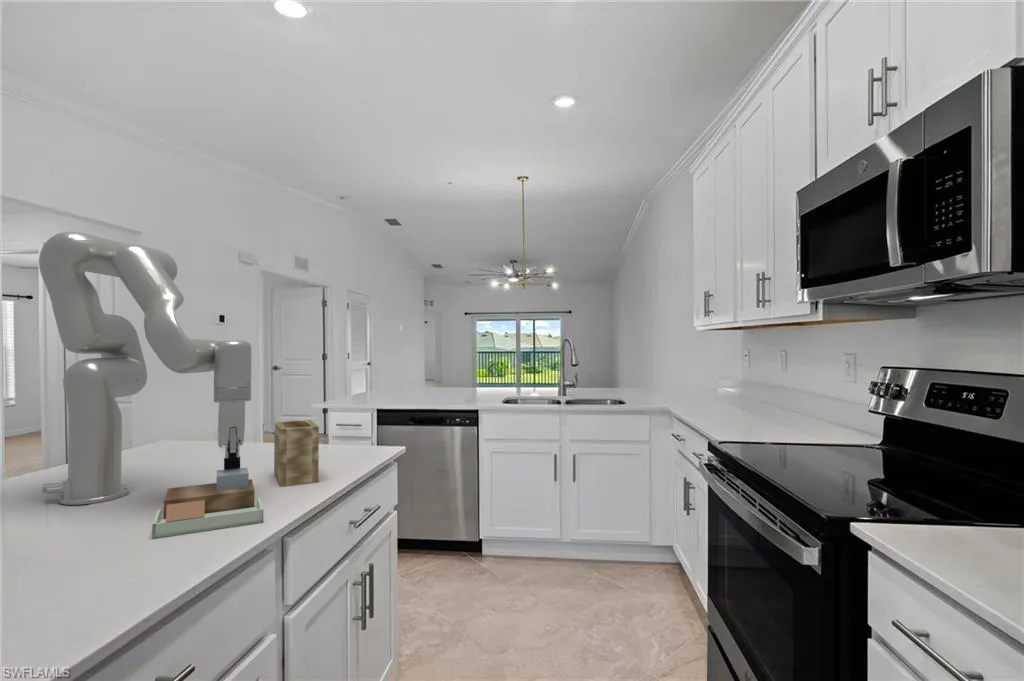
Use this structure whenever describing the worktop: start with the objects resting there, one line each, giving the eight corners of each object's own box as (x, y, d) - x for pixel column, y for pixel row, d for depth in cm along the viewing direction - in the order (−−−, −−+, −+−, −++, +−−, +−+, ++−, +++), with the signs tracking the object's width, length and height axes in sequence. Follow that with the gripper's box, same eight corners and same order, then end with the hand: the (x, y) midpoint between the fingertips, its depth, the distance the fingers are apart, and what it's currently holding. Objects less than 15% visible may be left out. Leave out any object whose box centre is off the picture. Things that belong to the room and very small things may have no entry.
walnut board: (163, 521, 103) (164, 500, 103) (167, 507, 111) (168, 488, 111) (254, 508, 110) (254, 489, 110) (251, 496, 119) (251, 479, 119)
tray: (152, 538, 93) (152, 524, 93) (157, 522, 102) (157, 509, 102) (263, 522, 102) (263, 509, 102) (259, 508, 110) (259, 497, 111)
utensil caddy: (279, 486, 128) (280, 429, 128) (274, 474, 140) (274, 421, 140) (318, 482, 132) (318, 426, 132) (309, 470, 144) (310, 419, 144)
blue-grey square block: (216, 490, 110) (216, 476, 110) (216, 484, 115) (216, 470, 115) (248, 487, 113) (248, 473, 113) (246, 480, 118) (247, 467, 118)
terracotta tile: (168, 508, 100) (168, 524, 99) (166, 504, 95) (165, 521, 94) (204, 503, 103) (204, 519, 102) (204, 500, 98) (204, 516, 97)
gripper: (213, 392, 123) (212, 470, 123) (213, 398, 110) (213, 485, 110) (249, 391, 127) (248, 466, 127) (253, 396, 114) (252, 480, 114)
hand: (232, 475), depth 118 cm, fingers closed
